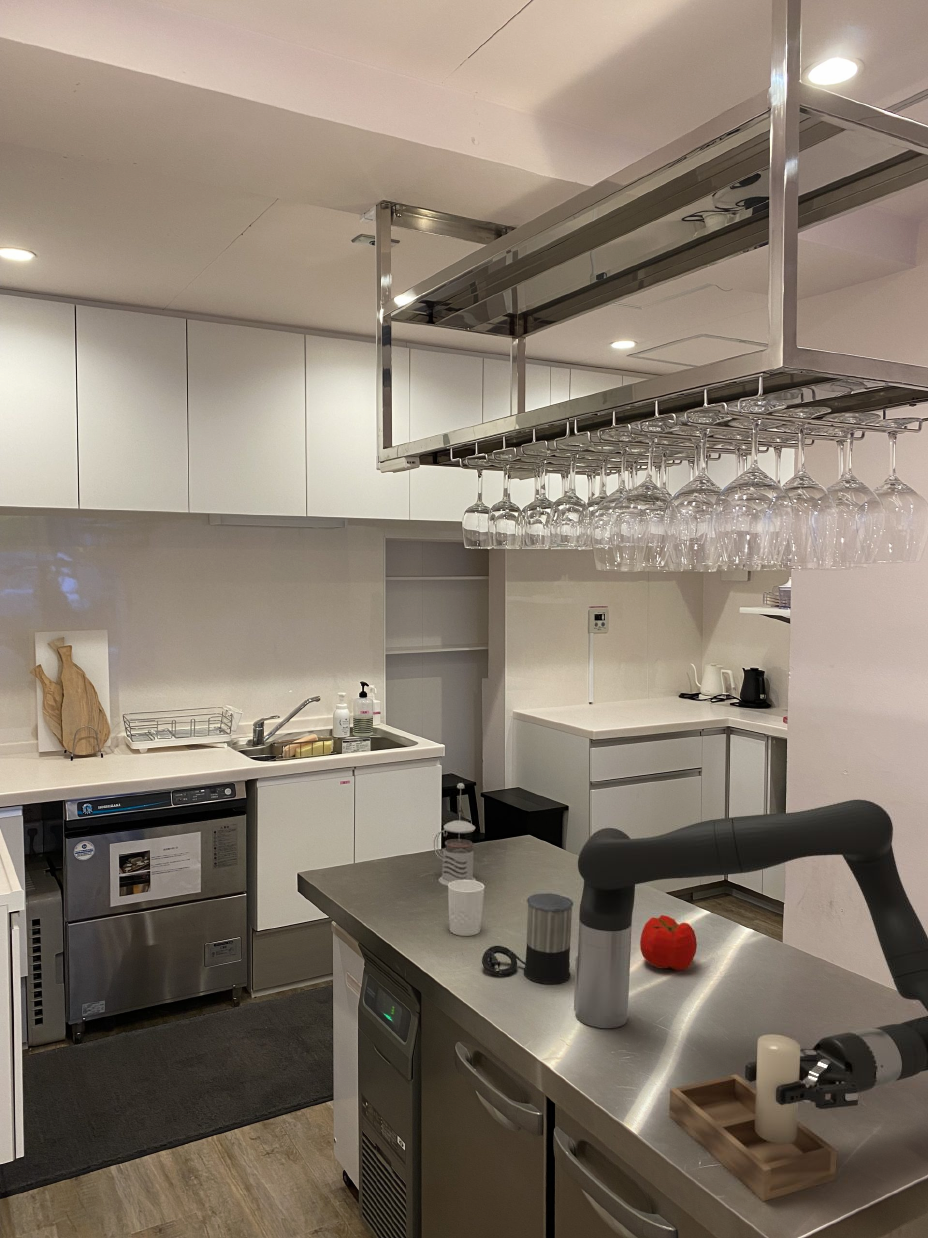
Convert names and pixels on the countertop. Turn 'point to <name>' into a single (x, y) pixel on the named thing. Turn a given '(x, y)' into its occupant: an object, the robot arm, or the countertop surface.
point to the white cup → (465, 907)
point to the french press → (459, 870)
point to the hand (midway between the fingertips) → (762, 1084)
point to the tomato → (668, 943)
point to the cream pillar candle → (773, 1070)
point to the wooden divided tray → (750, 1138)
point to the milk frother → (541, 941)
